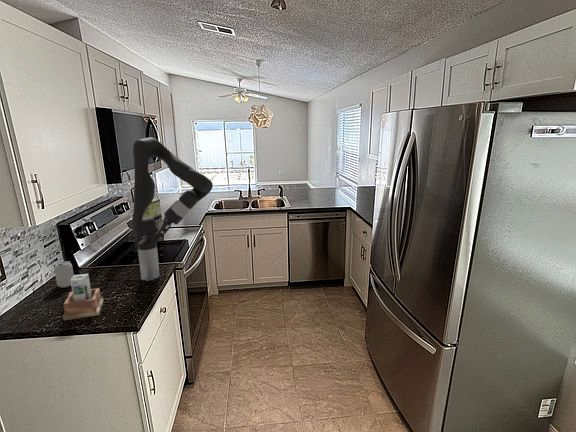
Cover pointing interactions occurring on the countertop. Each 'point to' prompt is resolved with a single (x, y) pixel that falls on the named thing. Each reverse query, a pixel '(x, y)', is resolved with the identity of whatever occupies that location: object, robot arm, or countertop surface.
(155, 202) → the protein box
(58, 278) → the can
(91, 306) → the wooden tray
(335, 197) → the countertop surface
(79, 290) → the syrup box
